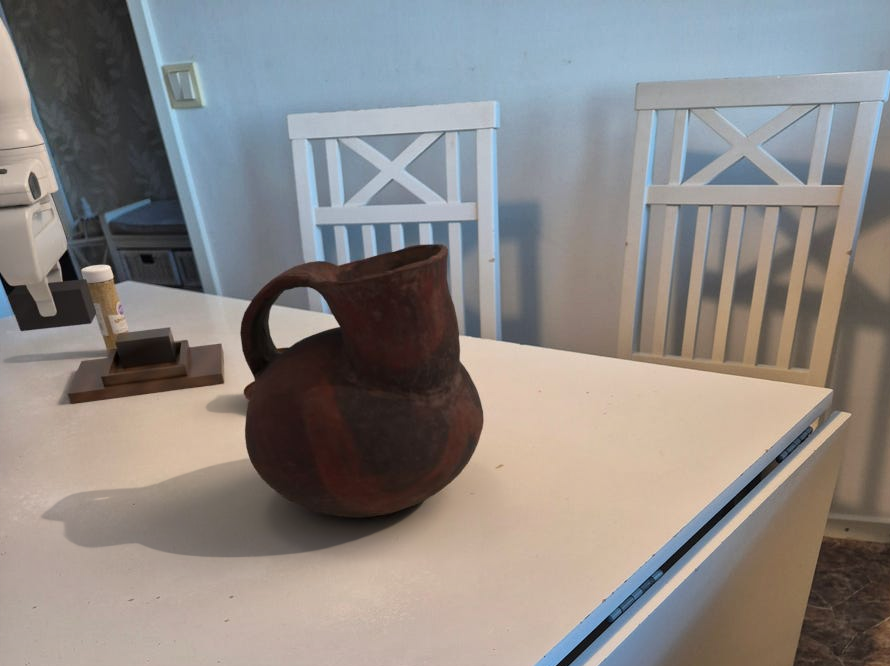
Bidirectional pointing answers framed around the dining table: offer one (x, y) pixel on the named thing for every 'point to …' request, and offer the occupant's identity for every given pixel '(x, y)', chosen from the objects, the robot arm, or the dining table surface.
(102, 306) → the sprinkles bottle
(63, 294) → the pad
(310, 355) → the jug
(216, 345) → the brown stepped wooden stand
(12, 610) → the dining table surface
